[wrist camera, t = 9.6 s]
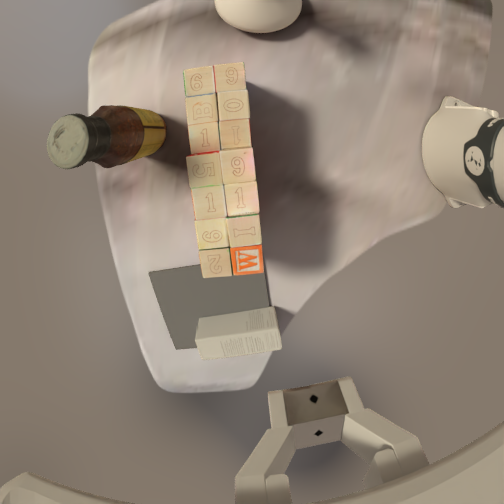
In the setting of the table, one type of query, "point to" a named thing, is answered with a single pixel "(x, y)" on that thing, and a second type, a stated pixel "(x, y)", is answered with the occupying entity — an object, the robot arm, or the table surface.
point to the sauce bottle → (105, 137)
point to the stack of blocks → (223, 171)
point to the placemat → (203, 298)
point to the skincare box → (238, 334)
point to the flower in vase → (259, 14)
